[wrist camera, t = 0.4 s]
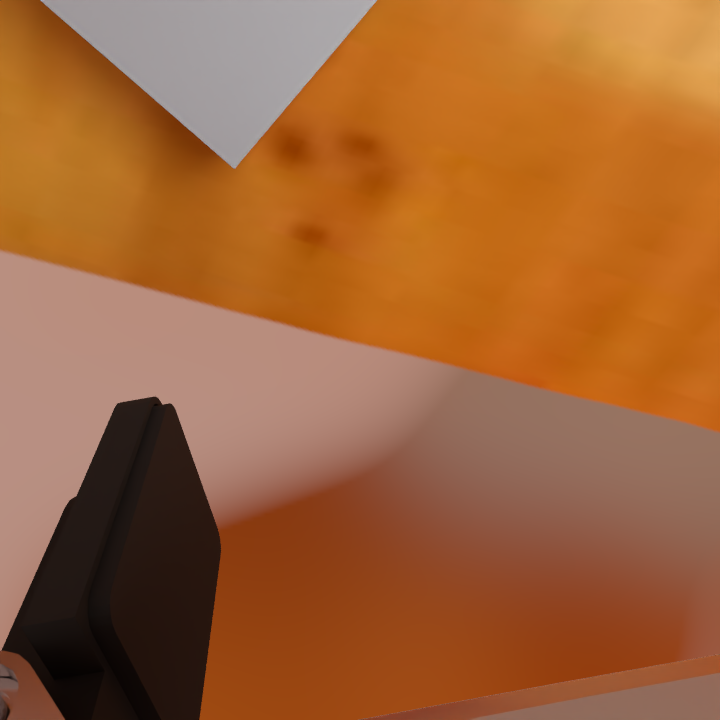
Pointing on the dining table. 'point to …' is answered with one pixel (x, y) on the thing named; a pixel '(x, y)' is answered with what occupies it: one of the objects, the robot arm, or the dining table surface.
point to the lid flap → (217, 56)
